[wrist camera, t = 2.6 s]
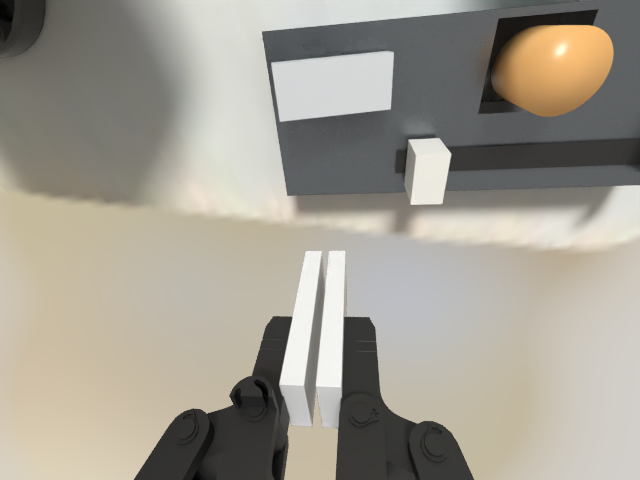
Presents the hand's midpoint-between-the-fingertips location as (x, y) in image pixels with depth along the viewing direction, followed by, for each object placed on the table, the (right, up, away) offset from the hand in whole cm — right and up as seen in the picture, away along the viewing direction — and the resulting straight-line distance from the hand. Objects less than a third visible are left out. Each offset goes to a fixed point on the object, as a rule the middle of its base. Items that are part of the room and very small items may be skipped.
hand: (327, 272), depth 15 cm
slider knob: (+8, +8, +10) cm, 15 cm away
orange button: (+15, +14, +7) cm, 22 cm away
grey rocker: (+1, +12, +6) cm, 14 cm away
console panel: (+12, +14, +12) cm, 22 cm away
